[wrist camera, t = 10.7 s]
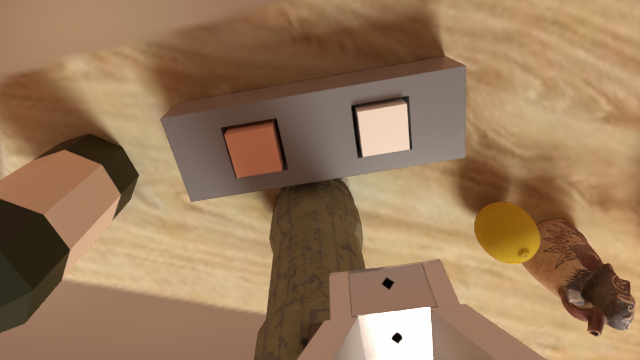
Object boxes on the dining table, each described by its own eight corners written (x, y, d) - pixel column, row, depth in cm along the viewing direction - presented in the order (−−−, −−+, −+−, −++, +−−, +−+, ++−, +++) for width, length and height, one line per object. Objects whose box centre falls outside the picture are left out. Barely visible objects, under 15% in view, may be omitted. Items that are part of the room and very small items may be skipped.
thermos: (284, 258, 44) (237, 922, 13) (264, 166, 39) (96, 915, 7) (359, 248, 44) (504, 897, 12) (350, 154, 38) (559, 872, 7)
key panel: (445, 56, 34) (466, 65, 30) (446, 137, 38) (465, 157, 33) (178, 102, 36) (160, 118, 31) (204, 177, 39) (191, 201, 35)
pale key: (397, 93, 33) (406, 103, 30) (400, 135, 35) (409, 149, 32) (352, 100, 34) (357, 112, 30) (358, 142, 35) (362, 157, 32)
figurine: (579, 258, 45) (664, 340, 35) (520, 275, 46) (584, 361, 36) (575, 210, 42) (667, 285, 32) (512, 230, 43) (579, 310, 33)
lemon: (463, 235, 43) (494, 283, 36) (463, 193, 41) (496, 236, 34) (512, 227, 43) (553, 274, 36) (515, 185, 41) (559, 226, 33)
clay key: (275, 114, 34) (272, 126, 31) (284, 154, 36) (282, 170, 33) (231, 121, 34) (224, 134, 31) (243, 161, 36) (236, 178, 33)
